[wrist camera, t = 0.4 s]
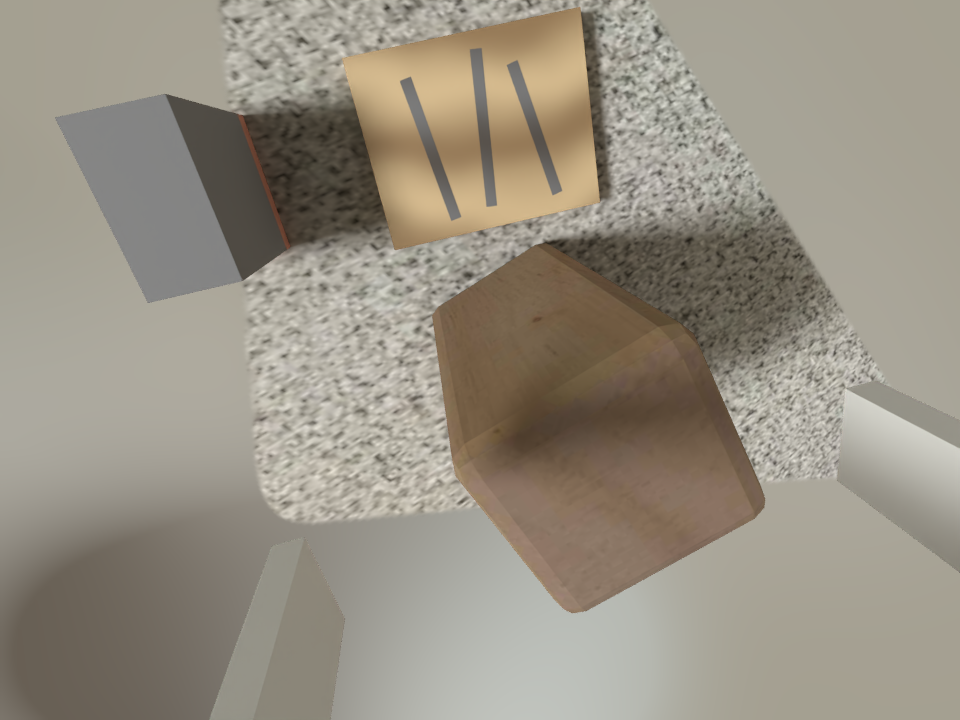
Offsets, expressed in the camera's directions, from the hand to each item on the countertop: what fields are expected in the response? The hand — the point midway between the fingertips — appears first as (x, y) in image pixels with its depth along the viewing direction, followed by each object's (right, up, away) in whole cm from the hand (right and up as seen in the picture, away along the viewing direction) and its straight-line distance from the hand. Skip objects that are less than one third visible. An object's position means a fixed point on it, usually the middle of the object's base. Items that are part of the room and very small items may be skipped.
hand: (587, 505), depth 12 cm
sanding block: (-18, +14, +19) cm, 30 cm away
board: (-3, +18, +19) cm, 27 cm away
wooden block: (0, +6, +25) cm, 26 cm away
